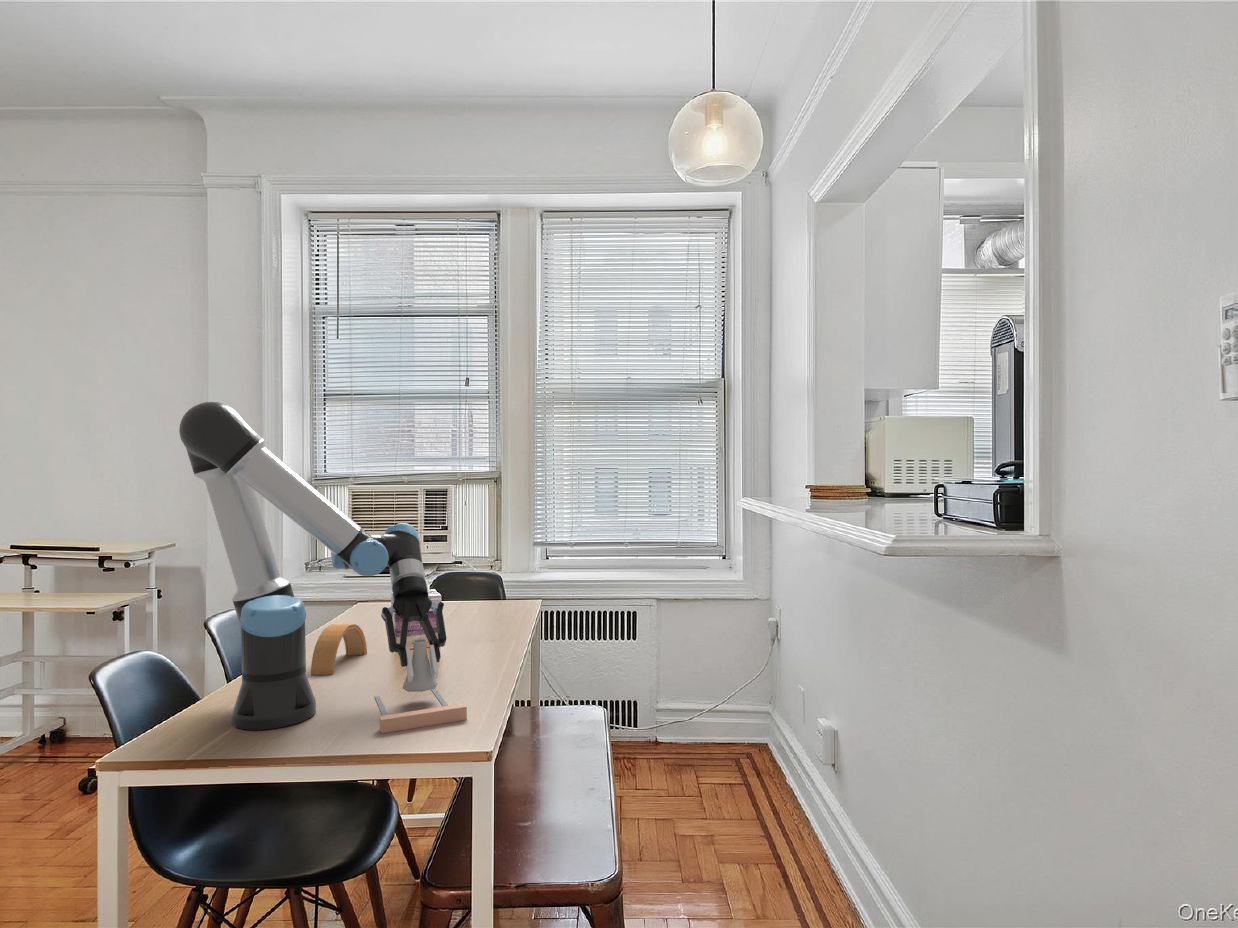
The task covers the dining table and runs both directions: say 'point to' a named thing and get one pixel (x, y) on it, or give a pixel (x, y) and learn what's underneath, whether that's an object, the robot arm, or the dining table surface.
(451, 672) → the dining table surface
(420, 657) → the flask
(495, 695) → the dining table surface
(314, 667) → the arch
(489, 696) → the dining table surface
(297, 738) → the dining table surface
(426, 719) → the stop bar lane
